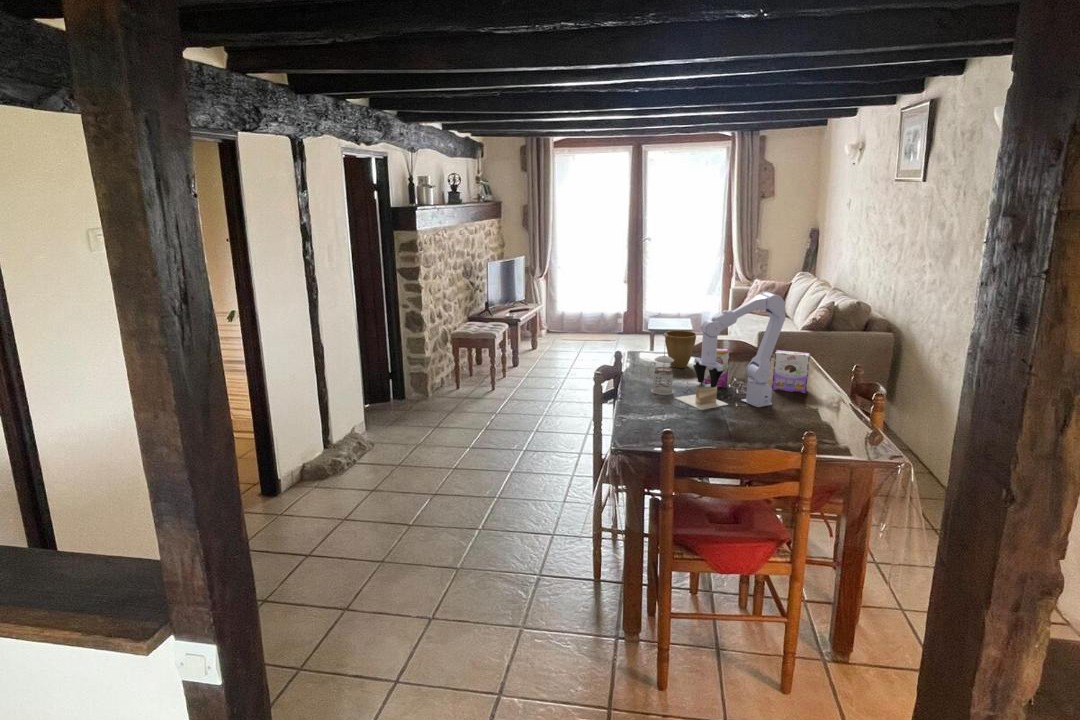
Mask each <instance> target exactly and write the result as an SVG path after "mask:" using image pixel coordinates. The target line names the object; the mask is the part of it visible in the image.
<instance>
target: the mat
mask: <svg viewBox="0 0 1080 720" xmlns="http://www.w3.org/2000/svg"><path fill="white" fill-rule="evenodd" d="M674 399H675V400H677V401H679V402H681V403H684V404H686V405H688V406H690V407H693V408H695V409H697V410H700V411H703V410H708V409H713V408H714V409H715V408H719V407H725V406H729V403H727V402H725V401H722V400H719V399H717V398H716V402H715V403H709V404H703V405H699V404H697V403H695V400H696V393H695V394H690V395H682V396H677V397H674Z"/></svg>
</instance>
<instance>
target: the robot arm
mask: <svg viewBox="0 0 1080 720" xmlns="http://www.w3.org/2000/svg"><path fill="white" fill-rule="evenodd" d="M785 306H786V302H785V300H784V299H783V298H782V296H780V295H778V294H774V293H772V292H770V291H763V292H761V293H760V294H757V295H755V296H754V297H753V298H751V299H750V300H748V301H747V302H745V303H744V304H742V305H740V306H739V307H736V308H735V309H733V310H730V309H725V310H723V311H722V312H721V313H720V314H718V315H717V316H713V317H711V319H706V320H705V321H703V323H702V324H701V326H700V331H701V332H702V339H701V342H702V343H701V356H700V357H701V358H700V357H695V358H694V361H693V363H694V364H693V369H694V371H695V373H696V378H697V382H698V383H700V382H703V381H704V374H705V370H706V367H710V368H713V370H709V373H710V378H711V387H716V385H717V382H718V380H719V378H720V376H721V374H722V373H723V366H722V365H720V364H718V363H717V362H716V355H717V349H718V336H719V335H720V333H721V331H723V330H726V329H727V328H729V327H731V326H733V325H735V324H736V323H737V321H738V319H740V318H741V317H743V316H745V315H747V314H749V313H751V312H754V311H755V310H762V311H763V310H764V311H766V314H767V315H768V317H769V320H768V322H767V325H766V328H765V331H764V334H763V336H762V339H761V342H760V344H759V347H758V350H757V351H756V355H755V356H753V357H752V358H751V361H750V362H749V363H748V364H747V366H746V367H745V373H746V375H747V376H748V377H747V382H746V394H745V398H743V399H740V402H742V403H745V402H746V403H745V404H747V405H750V406H753V407H756V408H762V407H768V406H772V405H773V403H772V398H773V397H772V395H773V390H772V386H771V385H769V384H768V380H769V379H770V377H771V371H770V370H771V368H772V365H771V358H772V355H773V352H774V351H775V348H776V344H777V341H778V339H779V337H780V334H781V331H782V328H783V325H784V323H785V320H786V315H787V314H786V309H785Z"/></svg>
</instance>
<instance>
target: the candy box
mask: <svg viewBox="0 0 1080 720" xmlns="http://www.w3.org/2000/svg"><path fill="white" fill-rule="evenodd" d="M773 361H774V362H773V363H774V364H773V374H772V383H771V384H772V386H771V388H772V391H773V390H774V391H783V392H791V393H800V394H801V393H802V394H806V393H807V390H808V382H809V372H810V361H811V353H809V352H801V351H789V350H782V349H781V350H779V349H776V351H775V352H774V360H773Z"/></svg>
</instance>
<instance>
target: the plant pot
mask: <svg viewBox="0 0 1080 720" xmlns="http://www.w3.org/2000/svg"><path fill="white" fill-rule="evenodd" d="M664 333H667V334H668V336H666V342H665V349H666V351H667V356H668V357H671V358H672V359H674V362H672V363H670V365H671V367H672V368H677V369H678V368H679V369H681V368H683V369H684V368H687V367H688V365H689V362H690V360H691V357H692V355H693V351H694V348H695V344H696V340H697V333H696V332H695V331H694V332H693V331H690V330H689V331H688V330H668V331H666V332H664Z"/></svg>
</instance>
